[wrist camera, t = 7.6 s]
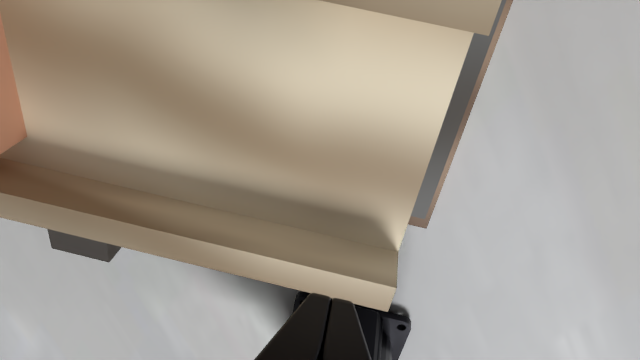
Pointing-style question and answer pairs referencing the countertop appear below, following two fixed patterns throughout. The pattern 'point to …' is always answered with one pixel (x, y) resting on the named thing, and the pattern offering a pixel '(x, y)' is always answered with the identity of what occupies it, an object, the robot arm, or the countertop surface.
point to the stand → (439, 160)
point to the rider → (9, 100)
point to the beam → (236, 129)
